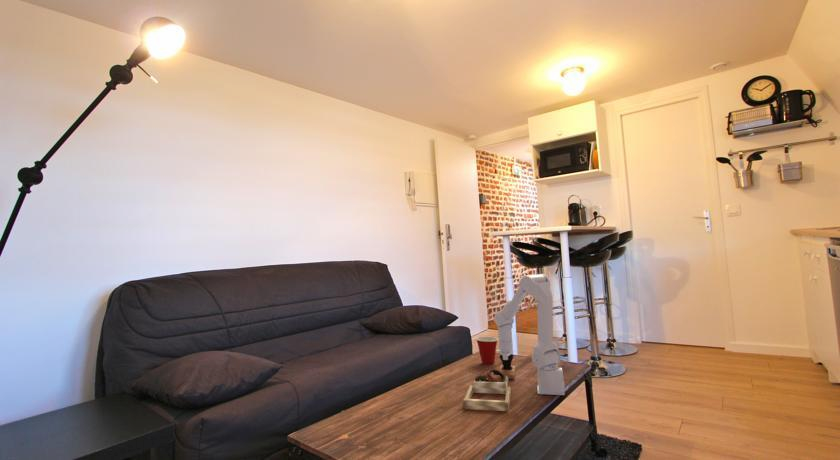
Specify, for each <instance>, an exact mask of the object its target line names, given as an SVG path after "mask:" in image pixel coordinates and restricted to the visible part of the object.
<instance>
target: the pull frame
mask: <svg viewBox="0 0 840 460" xmlns="http://www.w3.org/2000/svg"><path fill="white" fill-rule="evenodd" d="M499 371H500V372H501V373H502V374H503V375H504V376H505V382H500V381H498V382H490V381H489V382H482V381H481V380H479V381H475V380H474V381H473V382H472V384H473V394H475V393H476V394H495V395H496V394H497V395H506V391H507V387H509V386H508V385H509V380H515V378H516V366H514V365H511V370H504V367H503V365H500V367H499ZM499 379H500V380H501V377H500V376H499Z"/></svg>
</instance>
